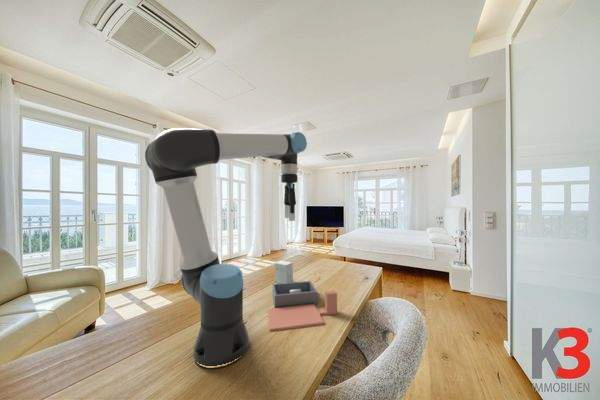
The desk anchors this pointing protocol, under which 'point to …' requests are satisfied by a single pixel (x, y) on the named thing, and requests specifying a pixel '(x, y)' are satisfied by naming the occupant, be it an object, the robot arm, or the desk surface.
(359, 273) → the desk surface
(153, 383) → the desk surface
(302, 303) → the tub
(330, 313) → the lid
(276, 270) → the small box
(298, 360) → the desk surface
